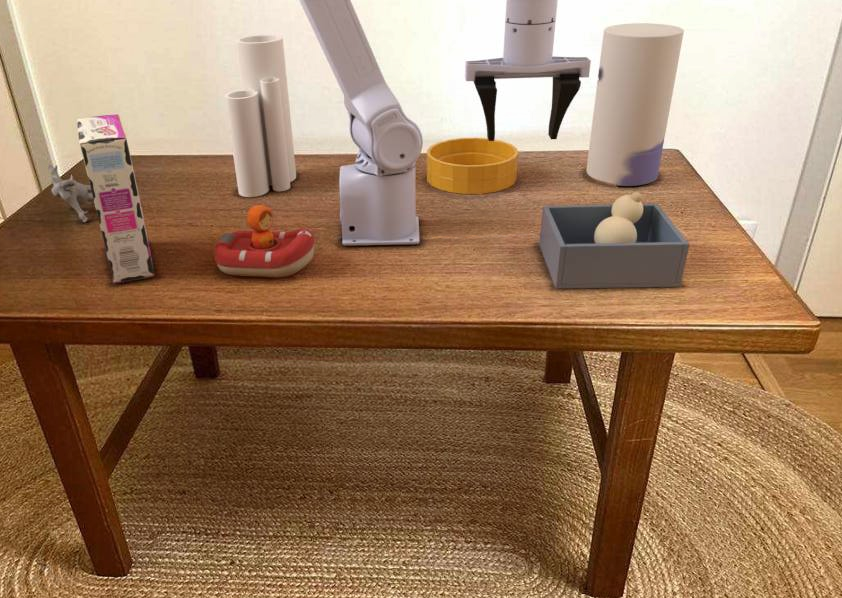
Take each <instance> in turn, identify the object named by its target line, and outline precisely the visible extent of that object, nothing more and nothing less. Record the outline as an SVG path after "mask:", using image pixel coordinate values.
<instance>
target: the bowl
mask: <svg viewBox="0 0 842 598" xmlns="http://www.w3.org/2000/svg"><path fill="white" fill-rule="evenodd" d="M519 154H520V153H519V150H518V148H517V147H516V146H515V145H513V144H512V143H509V142H506V141H503V140H500V139H494V141H488V137H487V138H486V137H459V138H452V139H446V140H443V141H438V142H436V143H434V144H432V145H430V146H429V147H428V148H427V150H426V182H427V183H428V184H429V185H430V186H431V187H433V188H435V189H438V190H440V191H443V192H448V193H452V194H460V195H461V194H462V195H482V194H490V193H496V192H497V193H498V192H499V191H504V190H506V189H508V188H510V187H512V186H513V185H515V183H516V181H517V180H518V168H519V167H518V166H519Z"/></svg>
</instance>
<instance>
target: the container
mask: <svg viewBox="0 0 842 598" xmlns="http://www.w3.org/2000/svg"><path fill="white" fill-rule="evenodd" d="M684 33H685V30H684V29H683V28H682V27H679V26H676V25H671V24H664V23H652V22H651V23H650V22H648V23H647V22H639V23H637V22H632V23H621V24H614V25H610V26H607V27H605V28H604V29H603V35H602V41H601V51H600V56H599V67H598V73H597V74H598V75H597V83H596V90H595V97H594V98H595V99H594V106H593V115H592V123H591V130H590V137H589V138H590V139H589V146H588V147H589V148H588V154H587V161H586V162H587V163H586V169H585V171H586V174H587V175H588V176H589V177H591V178H592V179H595V180H597V181H600V182H603V183H609V184H615V185H616V186H618V187H633V186H634V187H635V186H636V187H637V186H644V185H647V184H650V183H652V182H655V181H656V180H657V179H658V176H659V172H660V171H659V170H660V166H661V159H662V155H663V150H664V143H665V137H666V132H667V128H668V127H667V126H668V122H669V116H670V111H671V105H672V99H673V93H674V87H675V83H676V77H677V76H676V75H677V71H678V66H679V60H680V54H681V49H682V45H683V44H682V43H683V39H684Z"/></svg>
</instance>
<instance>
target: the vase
mask: <svg viewBox="0 0 842 598" xmlns="http://www.w3.org/2000/svg"><path fill="white" fill-rule="evenodd" d="M234 44H235V52H236V61H237V67H238V75H239V84H240V89H238V90H233V91H230V92H228V93H226V94H224V101H225V108H226V114H227V121H228V122H227V123H228V128H229V135H230V143H231V149H232V155H233V164H234V168H235V169H234V170H235V177H236V184H237V191H238V195H239V196H240V197H244V198H255V197H260V196H263V195H266V194H267V193H269V191H270V189H271V188H270V186H271V187H272V190H273V191H274V192H285V191H288V190H290V189H291V182H293V181H295V180H296V178H297V169H296V160H295V149H294V140H293V128H292V119H291V110H290V109H291V108H290V100H289V99H290V98H289V97H290V96H289V89H288V88H289V87H288V77H287V69H286V56H285V48H284V47H285V46H284V38H283V36H281V35H277V34H255V35H248V36H242V37H238V38H236V39H234Z"/></svg>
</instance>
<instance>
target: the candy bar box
mask: <svg viewBox="0 0 842 598" xmlns="http://www.w3.org/2000/svg"><path fill="white" fill-rule="evenodd" d="M76 124H77V126H76V127H77V135H78V143H79V146H80V151H81V155H82V158H83V162H84V167H85V171H86V174H87V179H88V183H89V185H90V187H91V191H92V195H93V200H94V201H93V202H94V203H93V204H94V207H95V212H96V215H97V219H98V223H99V227H100V228H99V229H100V232H101V236H102V240H103V243H104V248H105V253H106V257H107V261H108V264H109V268H110V273H111V277H112V283H113V284H118V283H119V284H120V283H125V282H132V281H137V280H138V281H139V280H143V279H148V278H152V277H155V275H156V274H155V270H154V265H153V258H152V253H151V249H150V243H149V238H148V234H147V233H148V232H147V228H146V223H145V219H144V213H143V207H142V204H141V199H140V198H141V197H140V194H139V189H138V185H137V180H136V174H135V171H134V165H133V161H132V157H131V152H130V147H129V143H128V140H127V139H128V138H127V136H126V132H125V131H124V127H123V124H122V121H121V117H120V115H119V114H105V115H95V116H89V117H81V118H77V119H76Z"/></svg>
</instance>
